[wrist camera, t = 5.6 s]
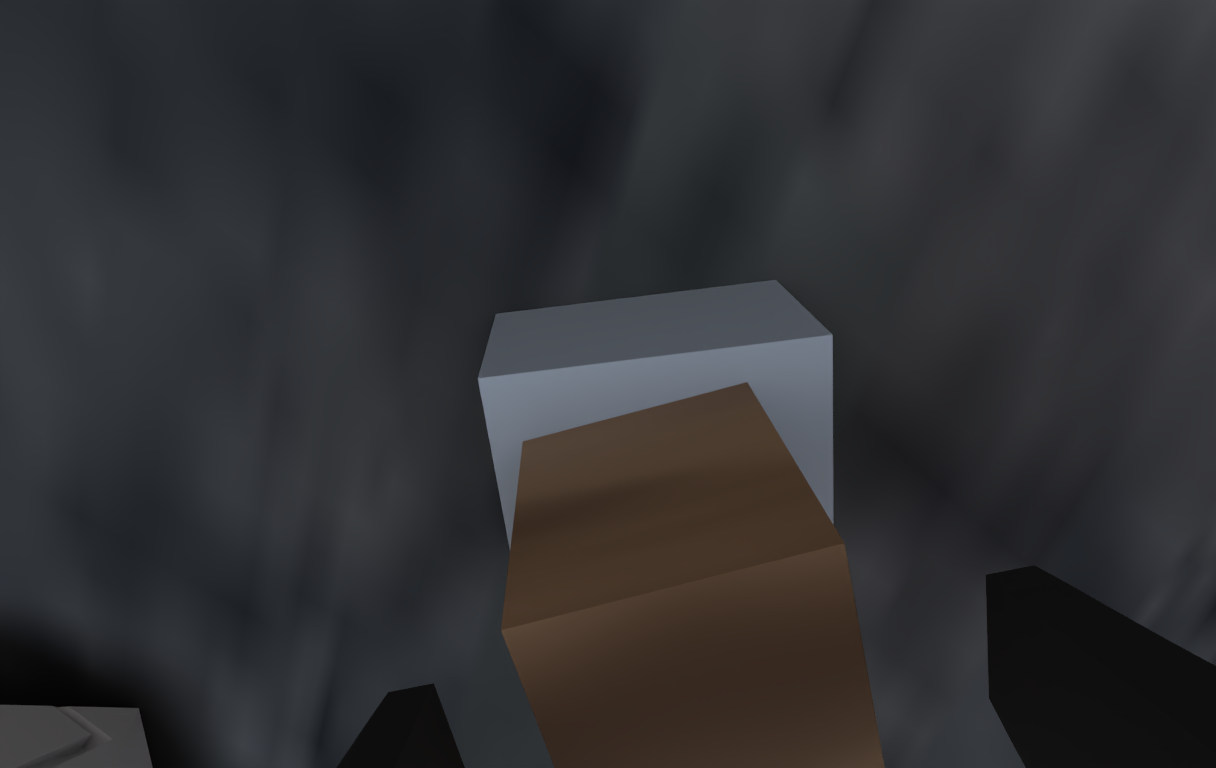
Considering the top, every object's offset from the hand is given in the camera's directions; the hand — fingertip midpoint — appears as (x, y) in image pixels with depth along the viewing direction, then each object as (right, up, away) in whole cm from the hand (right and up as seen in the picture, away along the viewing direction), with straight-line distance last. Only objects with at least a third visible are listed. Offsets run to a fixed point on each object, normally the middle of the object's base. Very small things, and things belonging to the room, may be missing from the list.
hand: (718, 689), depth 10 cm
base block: (-1, +3, +8) cm, 9 cm away
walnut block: (0, +2, +4) cm, 4 cm away
